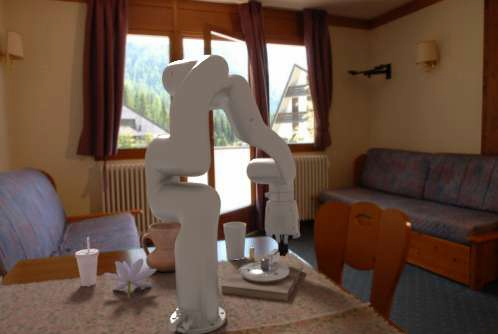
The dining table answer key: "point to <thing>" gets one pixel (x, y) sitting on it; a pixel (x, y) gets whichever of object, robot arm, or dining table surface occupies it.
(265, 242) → the dining table surface
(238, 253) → the cup
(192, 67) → the robot arm
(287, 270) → the flange plate
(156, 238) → the ceramic jug
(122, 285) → the water lily
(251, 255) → the post and dowel
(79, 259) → the smoothie
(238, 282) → the base board
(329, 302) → the dining table surface
